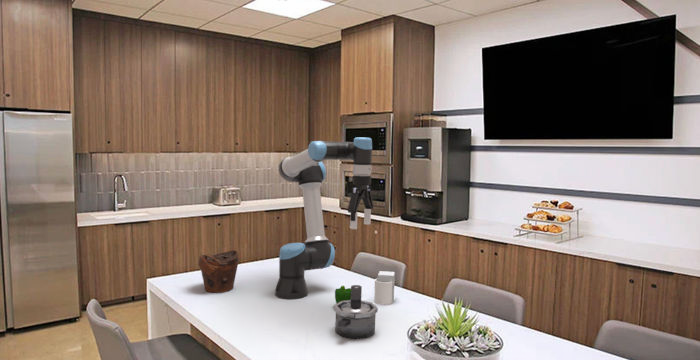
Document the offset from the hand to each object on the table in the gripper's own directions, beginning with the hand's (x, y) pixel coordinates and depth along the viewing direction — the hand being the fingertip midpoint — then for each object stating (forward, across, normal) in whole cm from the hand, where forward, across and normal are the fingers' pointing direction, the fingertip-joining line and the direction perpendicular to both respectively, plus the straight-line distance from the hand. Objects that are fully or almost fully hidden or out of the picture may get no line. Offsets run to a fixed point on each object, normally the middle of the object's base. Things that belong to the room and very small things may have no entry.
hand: (360, 226), depth 196 cm
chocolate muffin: (+37, -3, +72) cm, 81 cm away
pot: (+37, -18, -7) cm, 41 cm away
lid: (+29, -18, -7) cm, 35 cm away
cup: (+37, +21, -4) cm, 43 cm away
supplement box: (+37, +22, -4) cm, 43 cm away
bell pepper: (+37, +4, +9) cm, 38 cm away
